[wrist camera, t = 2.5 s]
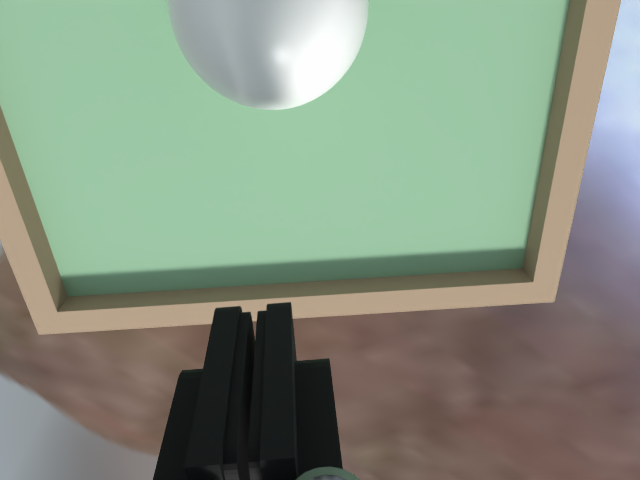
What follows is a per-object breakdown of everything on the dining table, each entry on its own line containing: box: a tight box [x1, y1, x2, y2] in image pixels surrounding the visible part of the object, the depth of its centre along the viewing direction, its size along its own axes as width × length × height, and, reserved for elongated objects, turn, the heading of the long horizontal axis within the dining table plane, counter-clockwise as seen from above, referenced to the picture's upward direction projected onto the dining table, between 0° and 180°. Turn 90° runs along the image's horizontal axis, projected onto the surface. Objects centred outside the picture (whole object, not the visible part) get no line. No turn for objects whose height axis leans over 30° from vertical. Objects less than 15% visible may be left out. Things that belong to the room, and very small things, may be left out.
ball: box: [168, 0, 369, 110], centre depth 13 cm, size 5×5×5 cm
